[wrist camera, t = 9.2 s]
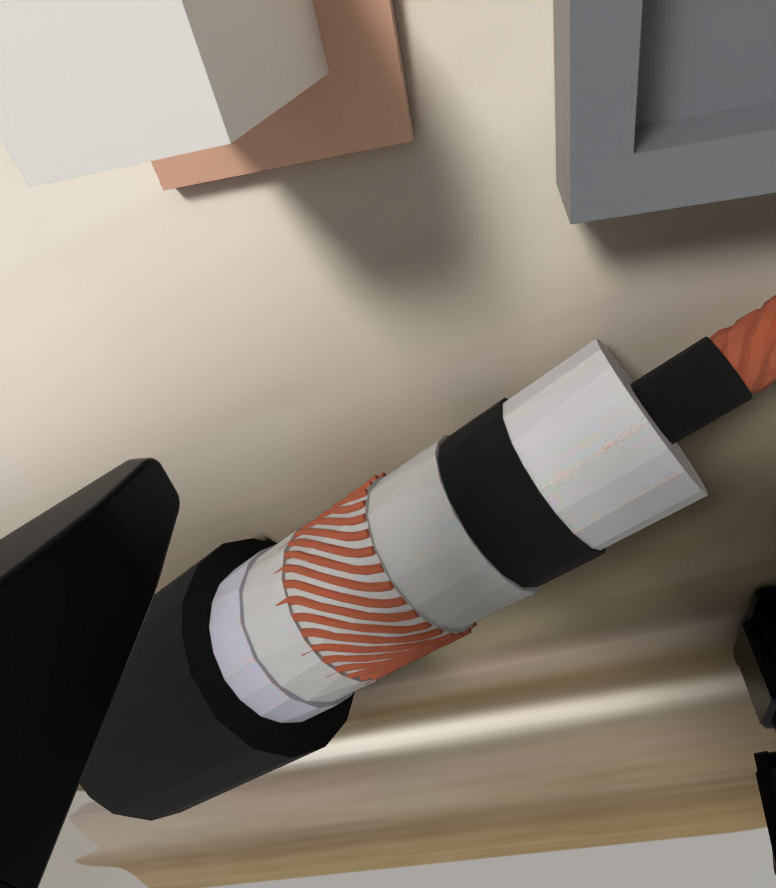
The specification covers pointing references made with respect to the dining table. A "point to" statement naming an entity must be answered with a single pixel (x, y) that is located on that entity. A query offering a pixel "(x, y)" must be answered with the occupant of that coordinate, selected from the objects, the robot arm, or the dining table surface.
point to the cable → (406, 568)
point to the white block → (145, 77)
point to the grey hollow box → (663, 104)
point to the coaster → (321, 103)
